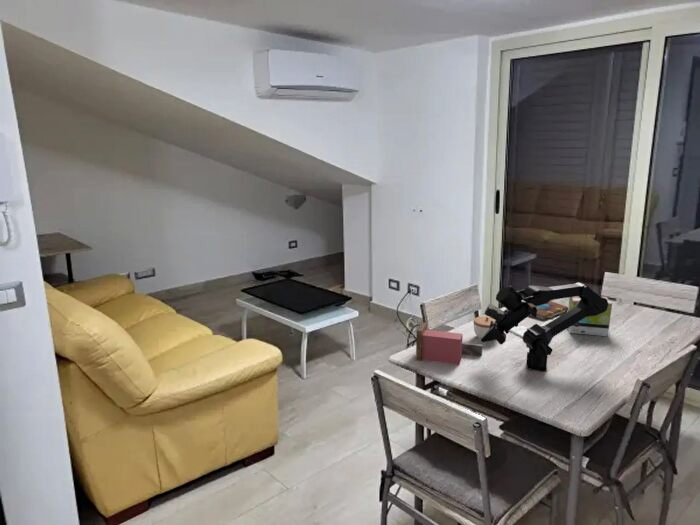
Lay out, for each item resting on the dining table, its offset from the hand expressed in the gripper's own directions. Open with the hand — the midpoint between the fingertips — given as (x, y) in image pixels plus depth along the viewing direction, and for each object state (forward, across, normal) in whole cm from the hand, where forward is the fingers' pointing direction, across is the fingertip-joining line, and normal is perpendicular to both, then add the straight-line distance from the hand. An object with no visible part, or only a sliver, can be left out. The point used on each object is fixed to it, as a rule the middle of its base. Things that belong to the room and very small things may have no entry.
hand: (481, 340), depth 188 cm
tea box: (-21, -47, +34) cm, 62 cm away
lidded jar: (+7, -26, +6) cm, 28 cm away
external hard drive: (-3, -36, +17) cm, 40 cm away
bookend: (+15, -2, -2) cm, 15 cm away
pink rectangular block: (+17, 0, -4) cm, 17 cm away
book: (-9, -69, +22) cm, 73 cm away
